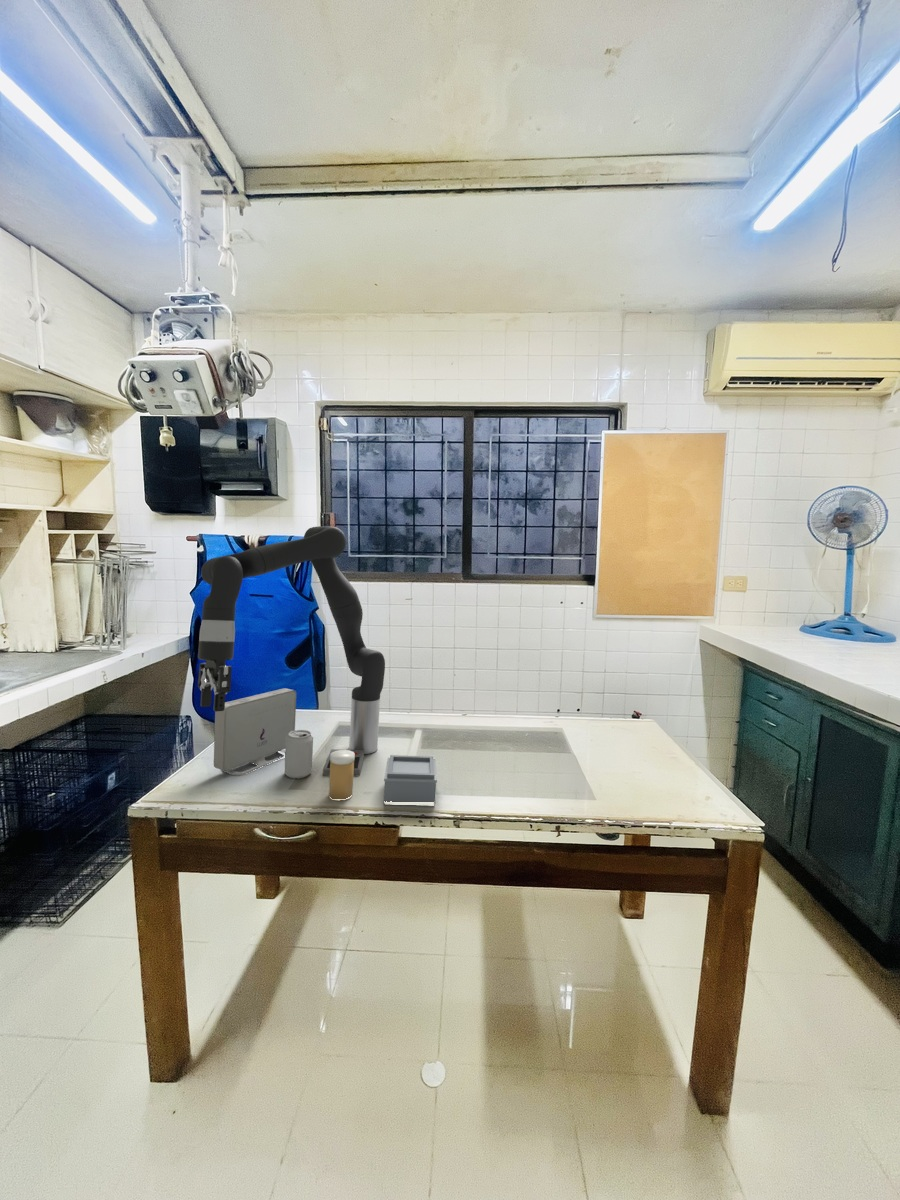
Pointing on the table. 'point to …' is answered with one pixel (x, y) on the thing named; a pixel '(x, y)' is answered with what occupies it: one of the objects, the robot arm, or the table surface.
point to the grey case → (410, 779)
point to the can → (298, 754)
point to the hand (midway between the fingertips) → (211, 708)
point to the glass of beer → (341, 774)
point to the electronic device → (357, 762)
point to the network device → (253, 729)
